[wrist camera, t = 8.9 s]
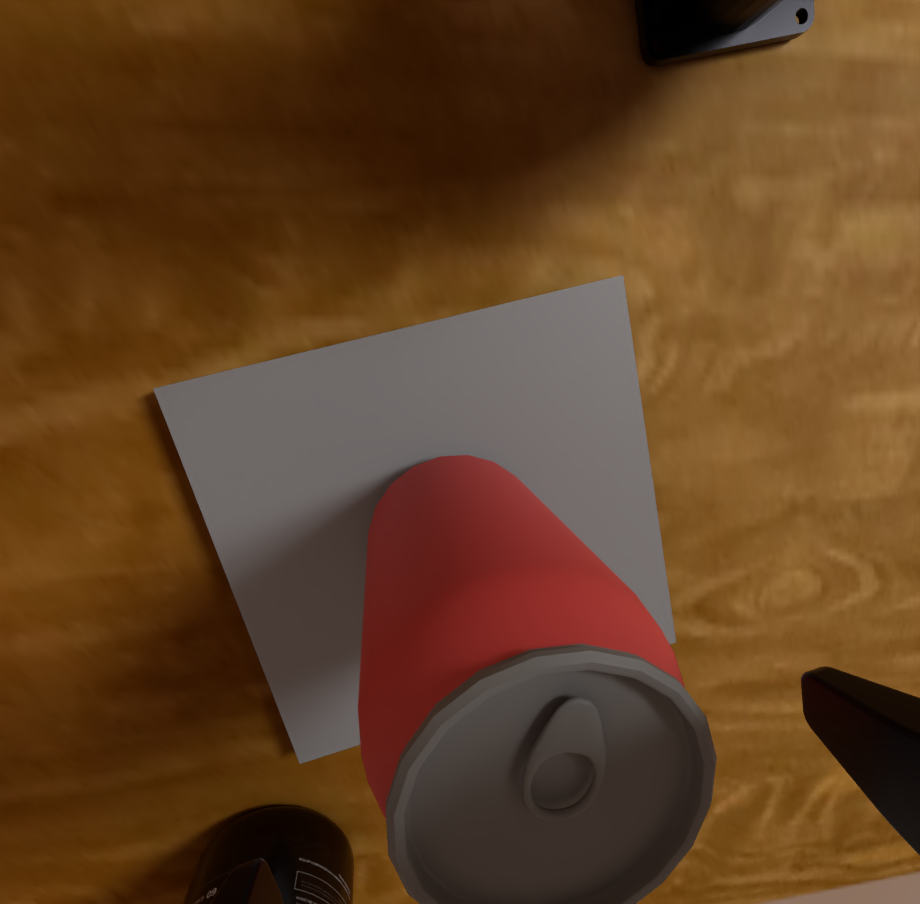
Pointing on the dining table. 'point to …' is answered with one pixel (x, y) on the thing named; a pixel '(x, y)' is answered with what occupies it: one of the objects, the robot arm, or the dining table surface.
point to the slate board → (394, 453)
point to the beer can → (518, 703)
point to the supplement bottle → (281, 856)
